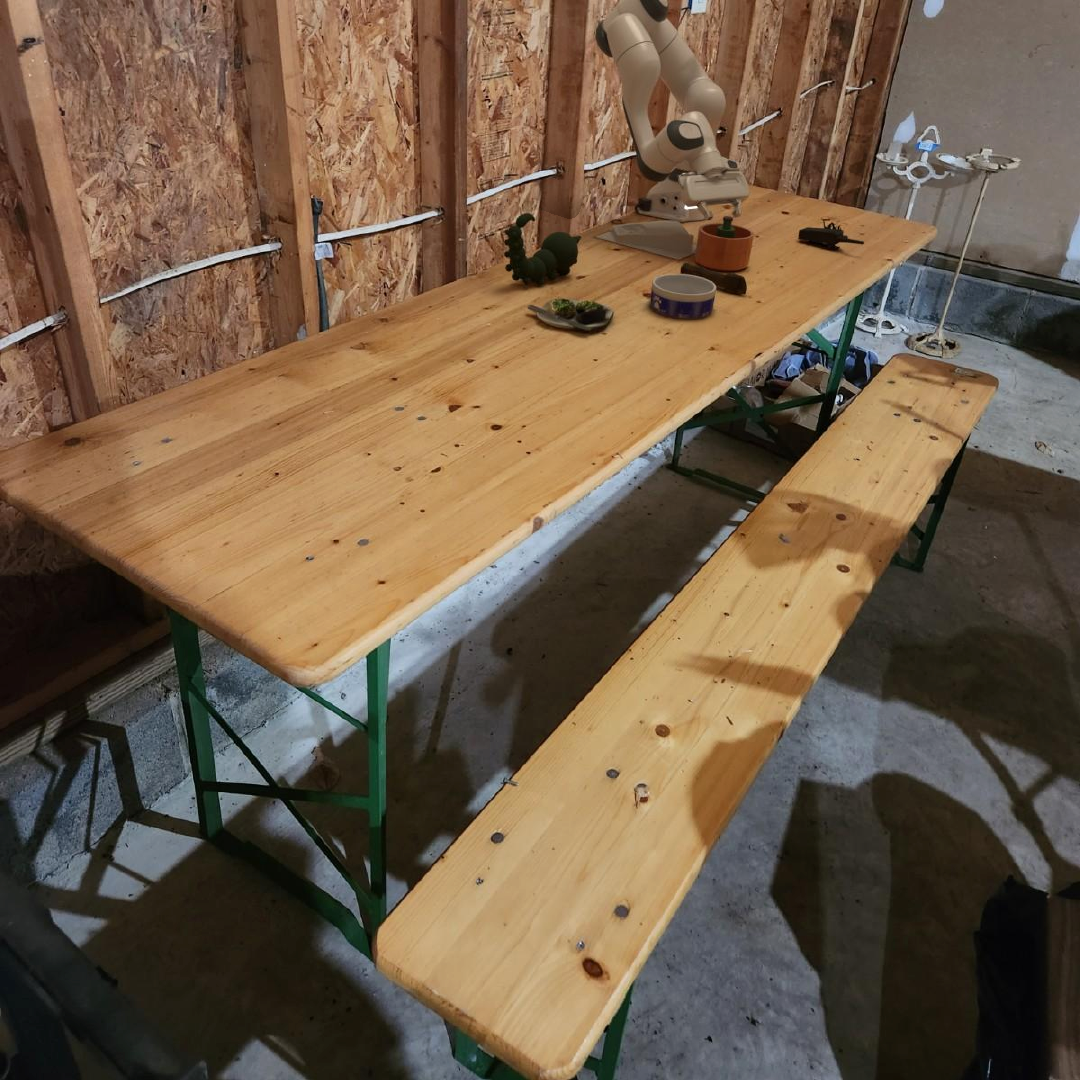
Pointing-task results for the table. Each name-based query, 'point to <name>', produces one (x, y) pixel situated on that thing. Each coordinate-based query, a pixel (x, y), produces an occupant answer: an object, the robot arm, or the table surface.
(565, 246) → the toy figurine
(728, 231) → the plant food bottle
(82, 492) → the table surface
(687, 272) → the dark brown rough bar
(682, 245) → the ramp
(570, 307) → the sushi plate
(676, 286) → the dog bowl
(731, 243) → the pot
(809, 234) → the walkie-talkie
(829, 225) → the creature
